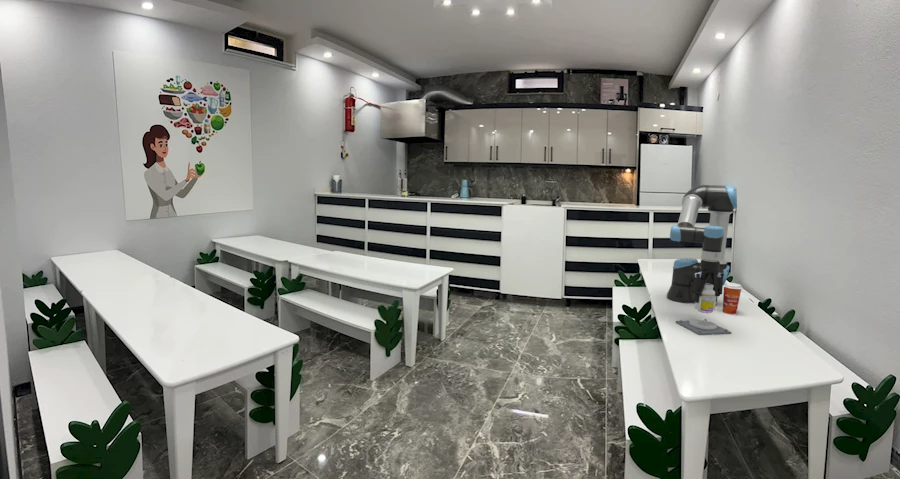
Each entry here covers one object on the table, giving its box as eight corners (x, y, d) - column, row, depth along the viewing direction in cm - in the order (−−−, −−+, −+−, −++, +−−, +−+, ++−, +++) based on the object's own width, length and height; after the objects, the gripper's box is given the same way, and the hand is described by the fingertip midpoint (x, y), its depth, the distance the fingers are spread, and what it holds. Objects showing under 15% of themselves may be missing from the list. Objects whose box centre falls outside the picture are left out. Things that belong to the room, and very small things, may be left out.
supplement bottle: (697, 308, 206) (700, 281, 205) (713, 311, 203) (716, 283, 201) (695, 311, 201) (698, 284, 199) (712, 314, 197) (715, 286, 195)
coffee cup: (721, 313, 225) (725, 285, 223) (718, 308, 233) (722, 281, 230) (740, 315, 222) (744, 287, 220) (737, 311, 230) (740, 283, 227)
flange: (675, 322, 210) (676, 318, 210) (705, 321, 212) (706, 317, 212) (698, 335, 194) (699, 330, 194) (731, 333, 197) (731, 328, 196)
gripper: (696, 261, 193) (690, 312, 197) (736, 261, 196) (730, 311, 200) (685, 258, 201) (679, 307, 204) (723, 258, 203) (717, 306, 207)
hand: (704, 309), depth 202 cm, fingers closed on supplement bottle, 7 cm apart
